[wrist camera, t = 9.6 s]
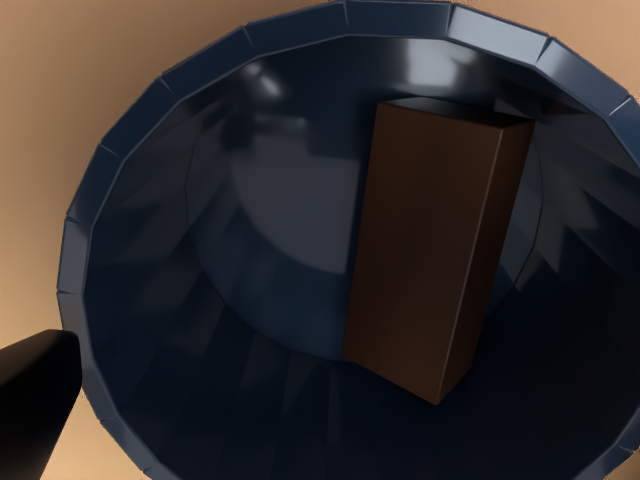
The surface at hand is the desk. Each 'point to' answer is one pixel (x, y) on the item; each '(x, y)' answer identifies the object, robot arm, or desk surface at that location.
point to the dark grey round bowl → (351, 258)
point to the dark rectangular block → (431, 238)
